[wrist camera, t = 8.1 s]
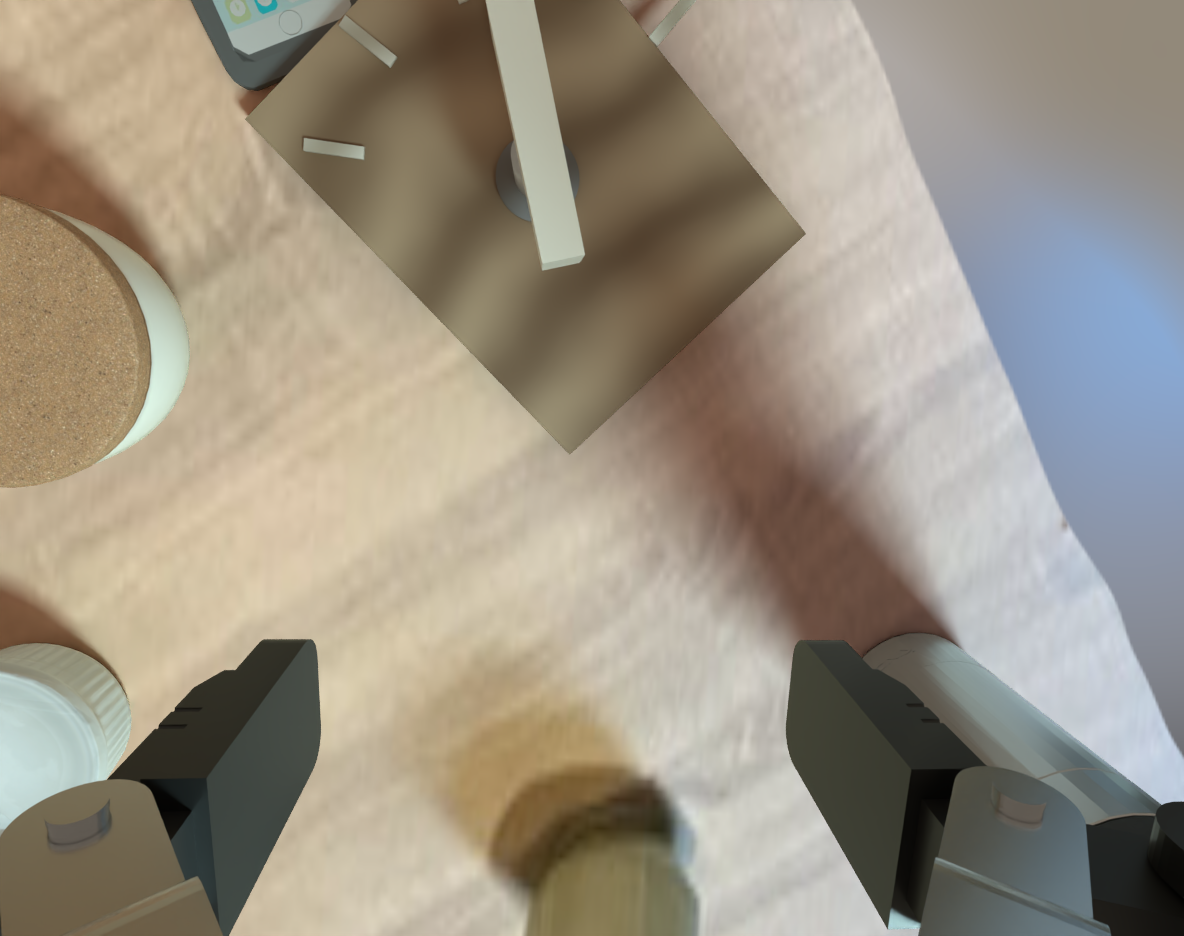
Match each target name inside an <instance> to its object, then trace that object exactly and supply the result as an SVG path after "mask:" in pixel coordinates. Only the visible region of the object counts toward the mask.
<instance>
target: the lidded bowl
mask: <svg viewBox="0 0 1184 936" xmlns="http://www.w3.org/2000/svg"><path fill="white" fill-rule="evenodd" d="M189 360H190V345H189V336H188V331H187V326H186V322H185V319H184V317H183V314H182V311H181V309H180V306H179V304H178V302H177V301H176V299H175V297H174V295H173V294H172V292H171V290H170V289H169V287H168V286H167V285H166V283H165V282H164V281H163V280H162V278H161V277H160V276H159V274H158V273H157V272H156V271H155V270H154V269H153V268H152V267H151V266H150V265H149V264H148V263H147V262H146V261H145V260H144V259H143V258H142V257H141V256H140V255H139V254H137V253H136V252H135V251H133V250H132V249H131V248H129V247H128V246H127V245H125V244H124V243H122V242H121V241H119V240H118V239H116V238H115V237H113V236H111V235H109V234H107V233H106V232H104V231H102V230H100V229H98V228H97V227H95V226H92V225H90V224H88V223H85V222H83V221H81V220H78V219H76V218H73V217H70V216H68V215H65V214H63V213H60V212H57V211H53V210H50V209H47V208H43V207H40V206H37V205H35V204H32V203H29V202H27V201H24V200H22V199H19V198H15V197H11V196H6V195H2V194H0V487H10V488H15V487H25V486H34V485H39V484H43V483H47V482H51V481H54V480H58V479H62V478H65V477H68V476H70V475H72V474H74V473H77V472H79V471H81V470H83V469H86V468H88V467H90V466H92V465H93V464H96V463H99V462H101V461H103V460H106V459H108V458H110V457H112V456H115V455H117V454H119V453H121V452H122V451H124V450H126V449H128V448H129V447H131V446H132V445H134V444H135V443H137V442H138V441H140V440H141V439H143V438H144V437H146V436H147V435H148V434H149V433H150V432H151V431H153V430H154V429H155V428H156V427H157V426H158V425H159V424H160V423H161V422H162V421H163V420H164V419H165V418H166V417H167V415H168V414H169V412H170V411H171V410H172V408H173V407H174V406H175V404H176V402H177V400H178V398H179V396H180V393H181V391H182V389H183V387H184V384H185V381H186V377H187V374H188V369H189Z"/></svg>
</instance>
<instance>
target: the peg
mask: <svg viewBox="0 0 1184 936" xmlns="http://www.w3.org/2000/svg"><path fill="white" fill-rule="evenodd" d="M486 6H487V12H488V18H489V24H490V30H491V35H492V41H493V45H494V50H495V55H496V59H497V64H498V68H499V73H500V78H501V82H502V87H503V92H504V96H505V101H506V106H507V110H508V115H509V119H510V124H511V129H512V133H513V138H514V141H513V143H512V147H511V160H512V166H513V172H514V177H515V182H516V185H517V187H518V189H519V191H520V192H521V193H522V194H523V195H524V196H525V197H526V198H527V203H528V208H529V212H530V217H531V222H532V226H533V231H534V235H535V240H536V245H537V249H538V254H539V259H540V263H541V268H542V271H543V270H548V269H553V268H557V267H562V266H567V265H572V264H576V263H580V262H581V260H582V259H583V257H584V256H585V252H584V247H583V242H582V237H581V232H580V227H579V222H578V217H577V212H576V207H575V202H574V197H573V192H572V187H571V182H570V177H569V172H568V167H567V163H566V158H565V153H564V148H563V143H562V138H561V133H560V128H559V123H558V118H557V113H556V108H555V103H554V98H553V93H552V88H551V83H550V78H549V73H548V68H547V63H546V58H545V53H544V48H543V43H542V38H541V33H540V28H539V23H538V18H537V13H536V8H535V3H534V0H486Z"/></svg>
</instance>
